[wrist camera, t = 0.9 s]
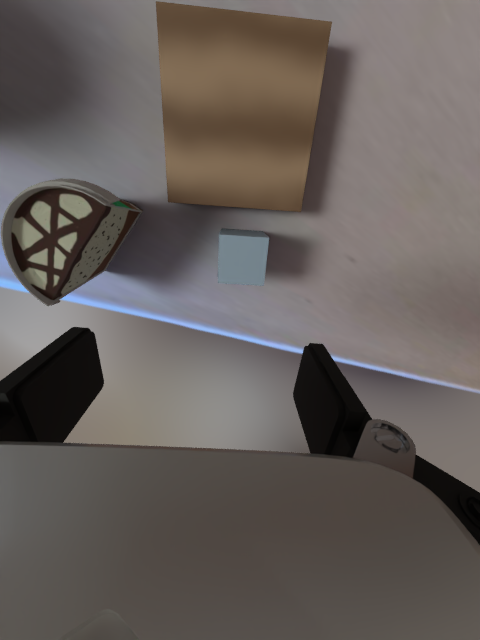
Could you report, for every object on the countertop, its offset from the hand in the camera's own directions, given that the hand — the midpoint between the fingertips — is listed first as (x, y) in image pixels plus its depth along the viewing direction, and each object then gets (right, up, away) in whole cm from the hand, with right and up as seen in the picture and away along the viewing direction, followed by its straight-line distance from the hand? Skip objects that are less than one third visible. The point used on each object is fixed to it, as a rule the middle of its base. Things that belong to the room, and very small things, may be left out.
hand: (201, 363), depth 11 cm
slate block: (+2, +11, +19) cm, 22 cm away
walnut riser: (+2, +21, +14) cm, 26 cm away
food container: (-15, +13, +18) cm, 27 cm away
